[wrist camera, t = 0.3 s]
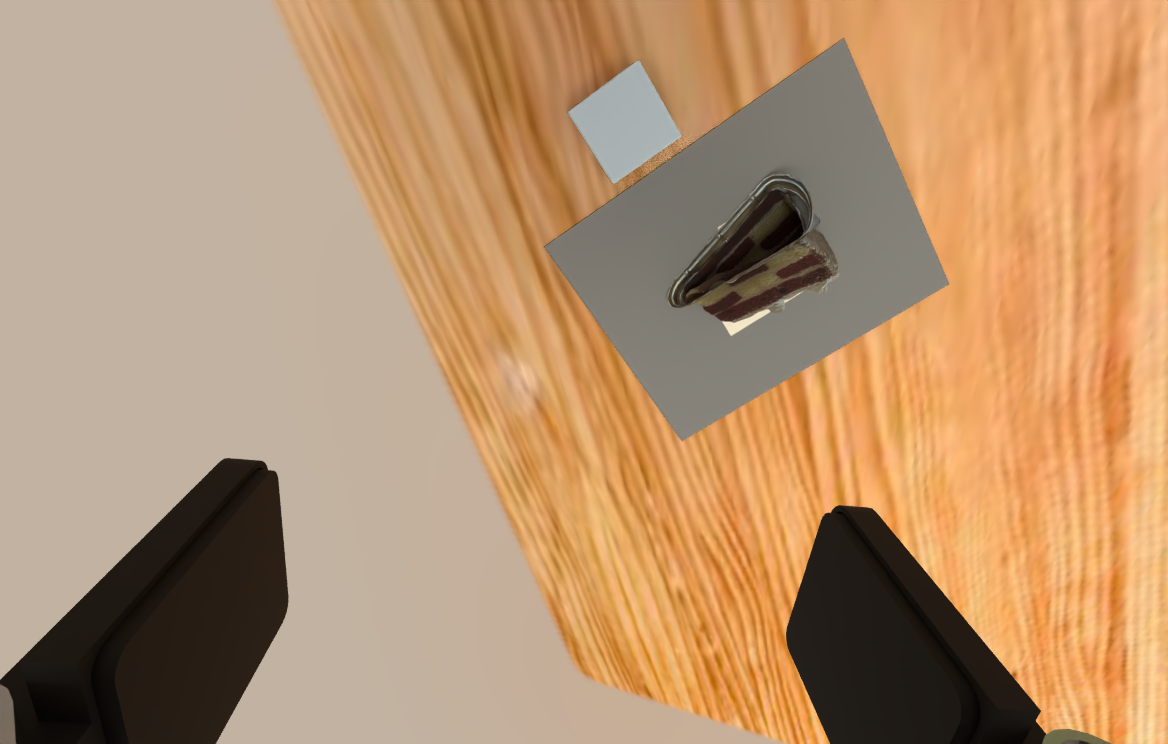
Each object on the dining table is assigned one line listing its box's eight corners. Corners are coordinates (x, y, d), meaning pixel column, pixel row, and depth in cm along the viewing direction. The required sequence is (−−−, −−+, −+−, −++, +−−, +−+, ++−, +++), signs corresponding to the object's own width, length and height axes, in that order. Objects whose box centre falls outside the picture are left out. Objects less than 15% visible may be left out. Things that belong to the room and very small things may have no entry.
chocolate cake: (719, 354, 48) (867, 330, 39) (661, 312, 44) (810, 274, 35) (740, 255, 51) (882, 211, 42) (688, 208, 47) (831, 148, 38)
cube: (566, 112, 40) (568, 112, 36) (629, 65, 39) (638, 59, 35) (607, 176, 42) (613, 184, 37) (667, 133, 41) (682, 136, 36)
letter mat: (544, 246, 44) (544, 247, 44) (843, 38, 39) (844, 38, 39) (681, 440, 51) (681, 441, 51) (948, 283, 46) (949, 284, 46)
